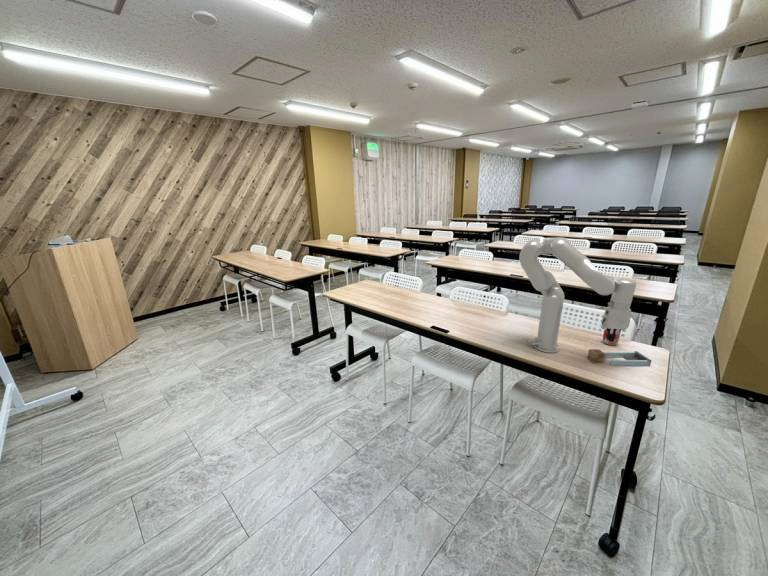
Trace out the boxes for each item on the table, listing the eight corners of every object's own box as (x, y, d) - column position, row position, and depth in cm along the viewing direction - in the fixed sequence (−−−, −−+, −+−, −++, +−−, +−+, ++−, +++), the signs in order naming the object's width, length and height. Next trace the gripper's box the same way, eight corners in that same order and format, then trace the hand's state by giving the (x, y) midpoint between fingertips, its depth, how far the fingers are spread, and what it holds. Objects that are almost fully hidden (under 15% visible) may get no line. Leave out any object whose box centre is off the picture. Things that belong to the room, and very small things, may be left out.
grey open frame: (611, 365, 143) (612, 360, 142) (598, 356, 151) (600, 351, 150) (650, 365, 142) (651, 360, 141) (635, 356, 150) (636, 351, 150)
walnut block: (592, 363, 146) (594, 354, 144) (587, 357, 150) (588, 349, 149) (603, 363, 145) (605, 354, 143) (597, 358, 150) (599, 349, 148)
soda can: (602, 339, 169) (606, 319, 166) (618, 342, 165) (622, 322, 162) (601, 343, 164) (605, 323, 161) (617, 347, 160) (622, 327, 156)
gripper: (608, 307, 135) (599, 343, 141) (642, 308, 135) (631, 344, 140) (598, 301, 142) (589, 336, 148) (630, 302, 142) (620, 337, 148)
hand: (609, 340), depth 144 cm, fingers closed
